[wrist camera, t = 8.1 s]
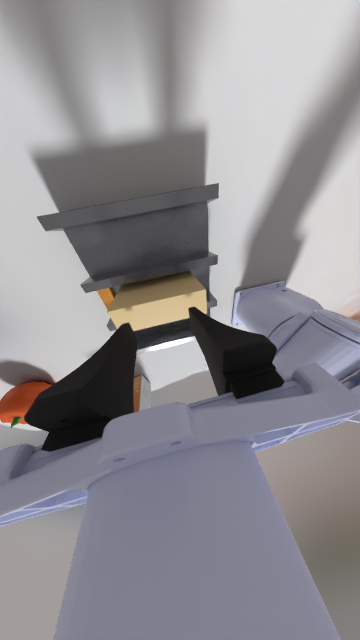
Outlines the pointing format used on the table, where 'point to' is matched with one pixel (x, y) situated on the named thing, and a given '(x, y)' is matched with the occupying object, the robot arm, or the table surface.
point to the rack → (143, 249)
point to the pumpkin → (20, 401)
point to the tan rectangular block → (157, 301)
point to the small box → (141, 393)
